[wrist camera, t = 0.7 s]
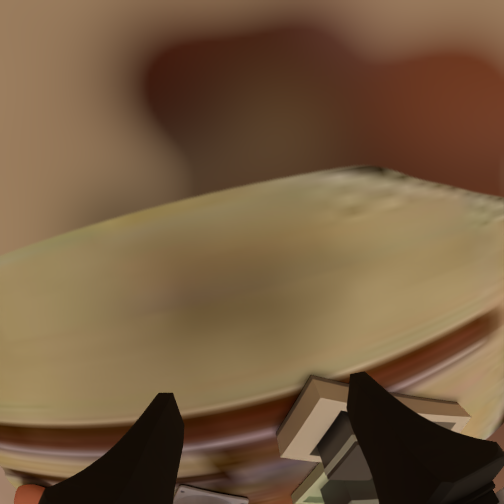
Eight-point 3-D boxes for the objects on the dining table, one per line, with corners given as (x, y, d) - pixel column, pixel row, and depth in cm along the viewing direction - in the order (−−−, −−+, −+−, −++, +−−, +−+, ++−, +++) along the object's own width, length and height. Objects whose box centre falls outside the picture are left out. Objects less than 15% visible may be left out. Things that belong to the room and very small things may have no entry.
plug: (349, 490, 27) (363, 526, 21) (319, 489, 26) (331, 528, 20) (369, 469, 26) (387, 506, 20) (339, 468, 25) (354, 508, 19)
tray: (353, 497, 28) (356, 505, 26) (291, 495, 27) (293, 505, 25) (394, 452, 26) (399, 461, 25) (330, 448, 25) (334, 459, 24)
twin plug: (349, 437, 24) (369, 480, 19) (311, 432, 24) (326, 479, 18) (372, 405, 24) (399, 446, 18) (334, 398, 23) (356, 444, 17)
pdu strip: (423, 447, 27) (435, 463, 24) (276, 433, 24) (280, 457, 21) (457, 402, 26) (471, 416, 23) (310, 375, 23) (320, 397, 20)
